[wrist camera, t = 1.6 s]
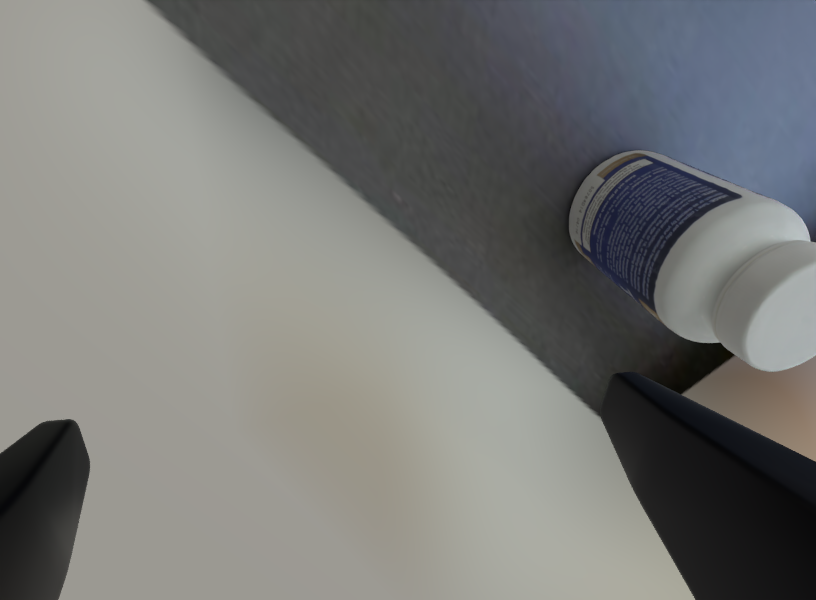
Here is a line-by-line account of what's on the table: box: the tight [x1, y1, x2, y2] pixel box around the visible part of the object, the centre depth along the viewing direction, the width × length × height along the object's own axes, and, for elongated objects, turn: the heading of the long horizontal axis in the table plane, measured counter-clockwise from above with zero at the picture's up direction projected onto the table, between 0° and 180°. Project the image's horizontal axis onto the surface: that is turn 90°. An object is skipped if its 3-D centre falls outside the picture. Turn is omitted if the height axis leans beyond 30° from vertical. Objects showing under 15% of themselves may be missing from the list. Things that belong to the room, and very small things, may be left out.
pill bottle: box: [569, 150, 816, 372], centre depth 19 cm, size 5×5×10 cm
